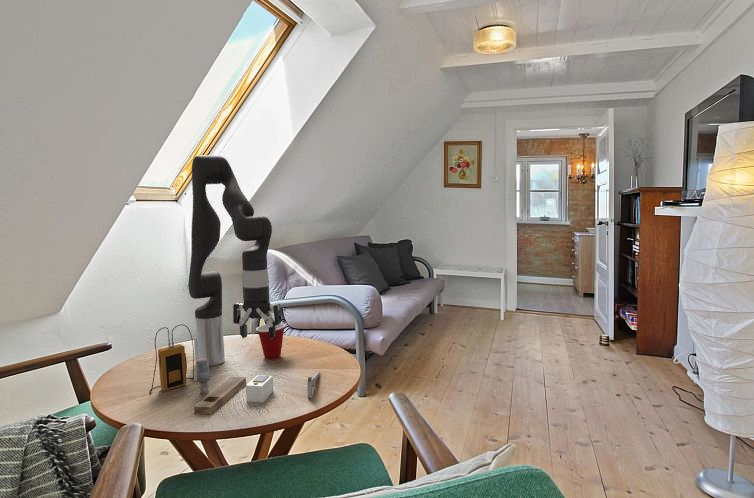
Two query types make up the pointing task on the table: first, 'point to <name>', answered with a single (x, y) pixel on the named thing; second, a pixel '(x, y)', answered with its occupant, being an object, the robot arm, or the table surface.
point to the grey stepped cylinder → (202, 375)
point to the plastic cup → (271, 341)
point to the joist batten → (219, 395)
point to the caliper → (312, 383)
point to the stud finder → (259, 388)
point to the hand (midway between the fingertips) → (258, 337)
